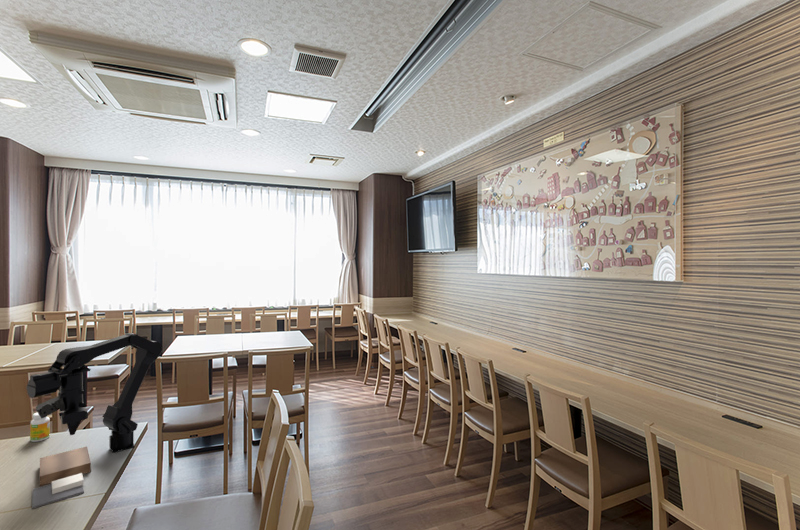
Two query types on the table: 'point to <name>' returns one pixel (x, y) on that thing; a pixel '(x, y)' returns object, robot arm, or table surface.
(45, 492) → the mat
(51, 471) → the serving board
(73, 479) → the white rectangular block
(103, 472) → the table surface
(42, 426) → the supplement bottle
